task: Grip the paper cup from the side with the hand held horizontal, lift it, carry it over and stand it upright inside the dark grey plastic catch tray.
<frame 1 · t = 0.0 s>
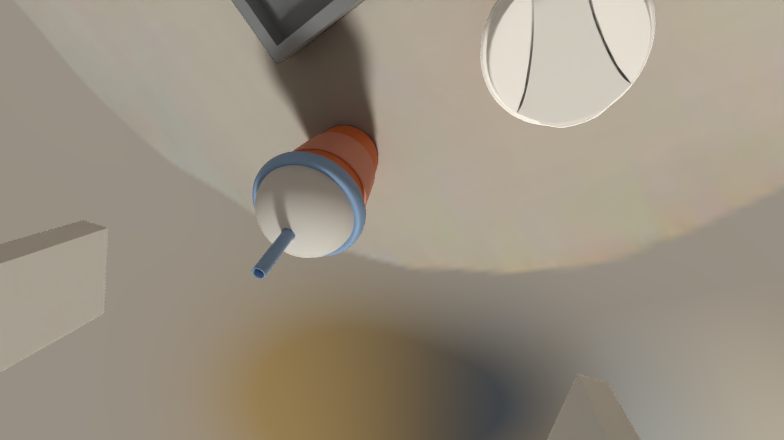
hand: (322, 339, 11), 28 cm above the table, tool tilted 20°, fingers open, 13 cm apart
cup with straw: (349, 153, 40), on the table
paper cup: (540, 15, 30), on the table
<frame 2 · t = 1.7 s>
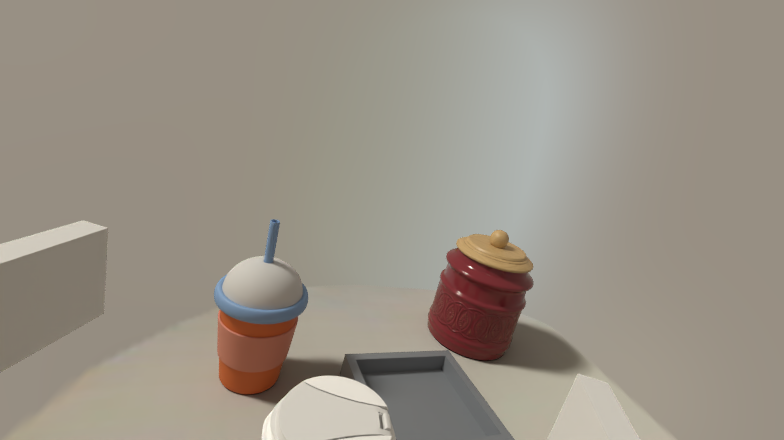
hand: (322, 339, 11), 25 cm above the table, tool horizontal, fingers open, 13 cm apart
cup with straw: (249, 375, 44), on the table
canister: (465, 336, 62), on the table
catch tray: (416, 416, 44), on the table
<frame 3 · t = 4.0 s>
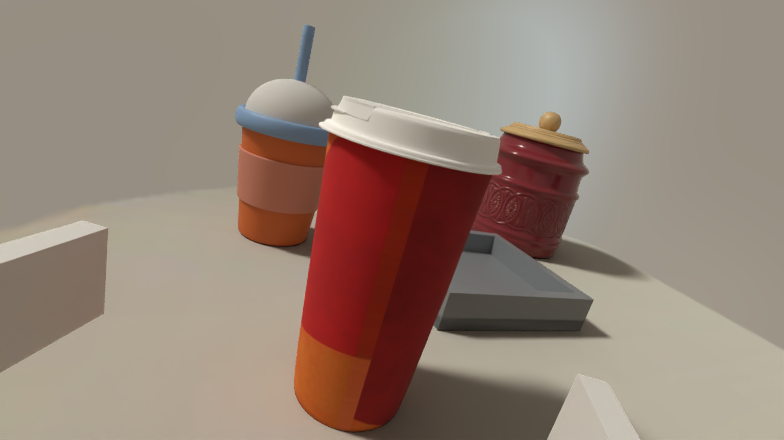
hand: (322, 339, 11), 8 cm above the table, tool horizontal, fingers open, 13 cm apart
cup with straw: (272, 234, 37), on the table
canister: (507, 240, 56), on the table
paper cup: (345, 390, 21), on the table
catch tray: (469, 285, 37), on the table
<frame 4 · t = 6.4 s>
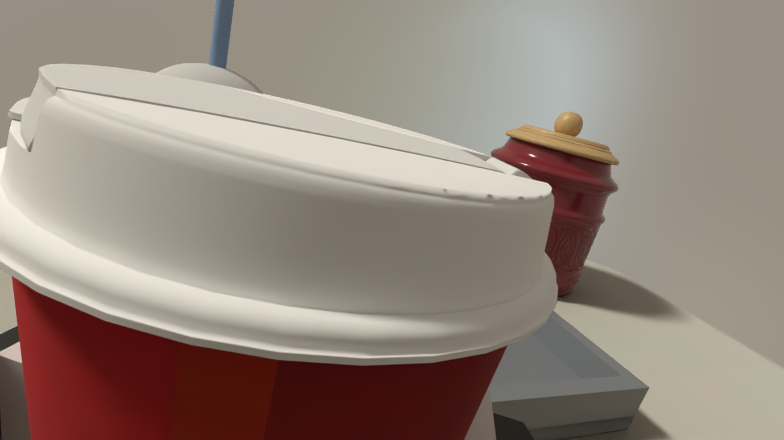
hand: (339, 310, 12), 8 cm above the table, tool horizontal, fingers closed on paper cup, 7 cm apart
cup with straw: (191, 284, 26), on the table
canister: (513, 270, 45), on the table
catch tray: (466, 354, 27), on the table
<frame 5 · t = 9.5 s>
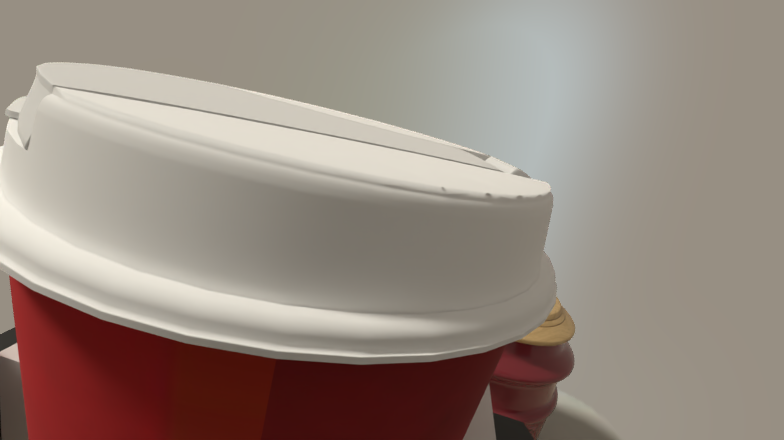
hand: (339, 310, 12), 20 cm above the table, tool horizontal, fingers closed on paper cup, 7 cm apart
when the fingers open (10 cm above the table, at t = 12.5 s): paper cup drops 1 cm, resting on catch tray.
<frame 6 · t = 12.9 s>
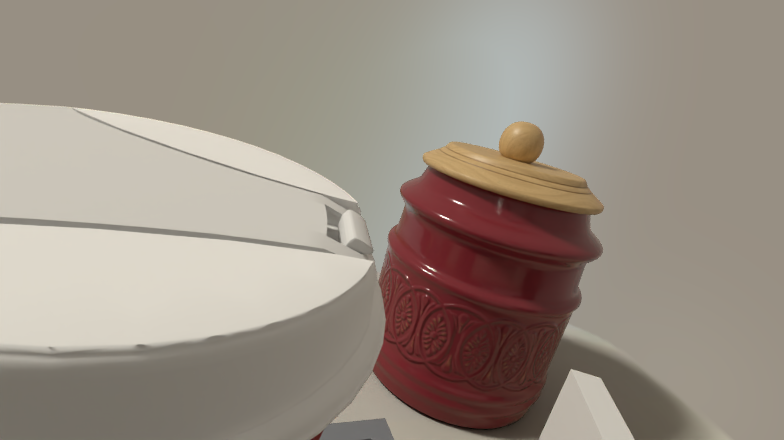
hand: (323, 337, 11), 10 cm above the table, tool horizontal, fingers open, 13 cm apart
canister: (444, 364, 29), on the table
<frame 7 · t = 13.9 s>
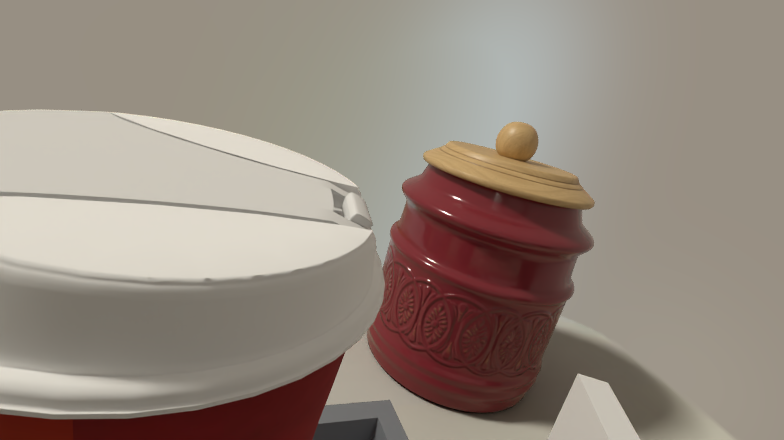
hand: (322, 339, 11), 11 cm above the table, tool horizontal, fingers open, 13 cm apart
canister: (444, 354, 31), on the table
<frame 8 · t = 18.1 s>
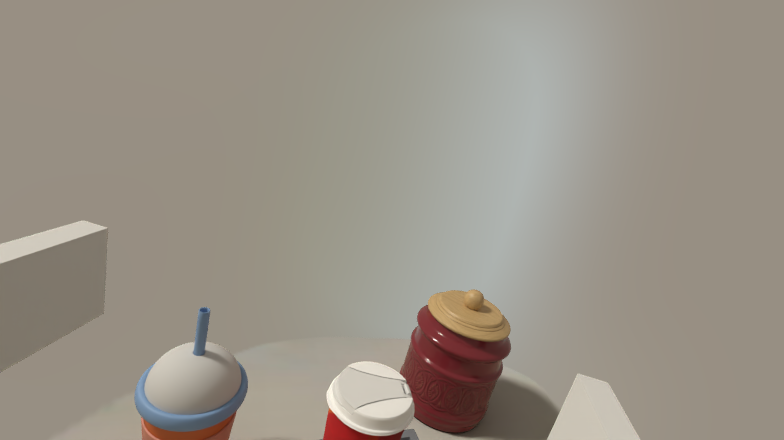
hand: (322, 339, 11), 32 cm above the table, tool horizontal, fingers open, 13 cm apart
canister: (438, 399, 58), on the table
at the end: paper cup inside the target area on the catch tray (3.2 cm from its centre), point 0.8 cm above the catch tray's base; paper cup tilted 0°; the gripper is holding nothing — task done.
